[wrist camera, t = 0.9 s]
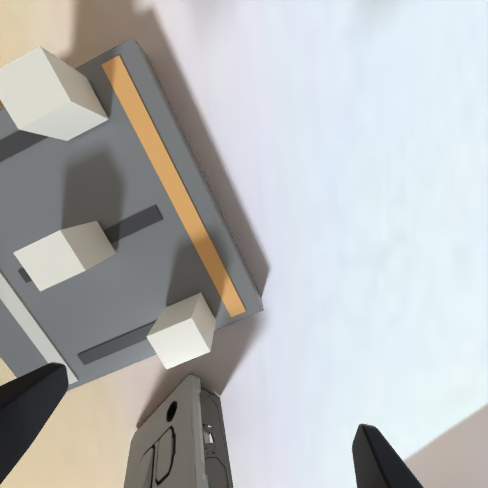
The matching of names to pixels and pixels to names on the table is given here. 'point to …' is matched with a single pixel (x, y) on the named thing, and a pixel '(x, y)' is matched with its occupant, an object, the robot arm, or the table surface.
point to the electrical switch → (181, 443)
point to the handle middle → (65, 254)
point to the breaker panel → (112, 229)
